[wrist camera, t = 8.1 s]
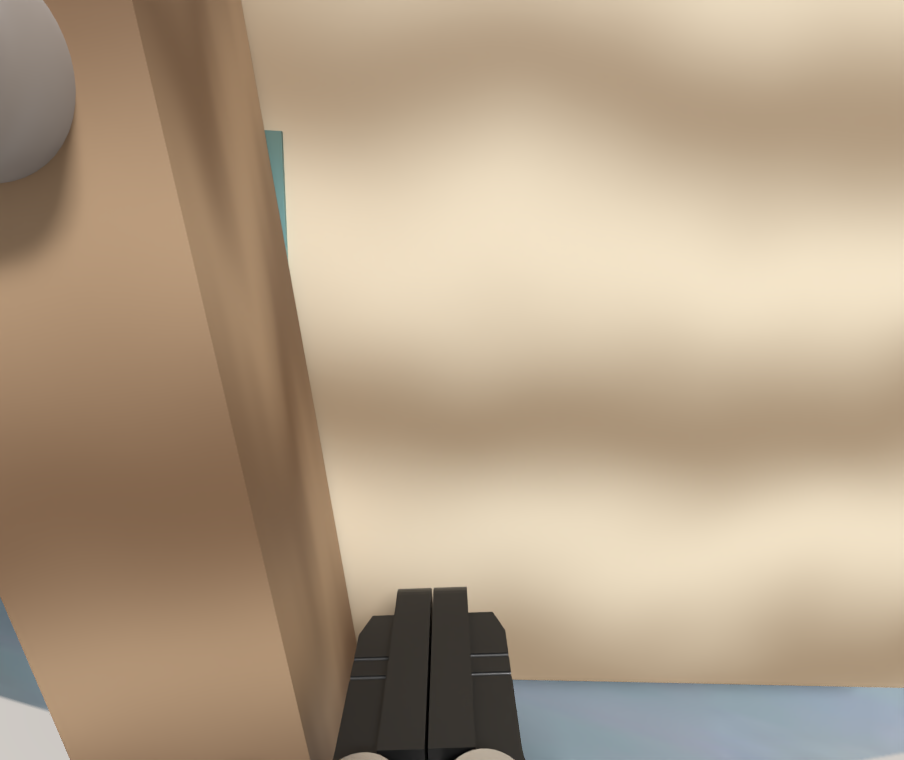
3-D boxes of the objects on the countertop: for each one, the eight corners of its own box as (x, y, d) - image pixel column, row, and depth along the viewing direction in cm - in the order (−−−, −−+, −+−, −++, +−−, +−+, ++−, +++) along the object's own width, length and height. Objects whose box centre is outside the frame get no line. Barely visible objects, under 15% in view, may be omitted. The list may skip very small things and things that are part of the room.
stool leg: (2, 3, 9) (-488, -225, 4) (237, -19, 9) (9, -274, 4) (206, 684, 14) (82, 938, 9) (361, 670, 14) (319, 919, 9)
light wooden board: (5, -28, 11) (-120, -95, 9) (1098, 48, 12) (1269, 7, 10) (115, 601, 16) (56, 673, 14) (884, 621, 17) (960, 691, 14)
